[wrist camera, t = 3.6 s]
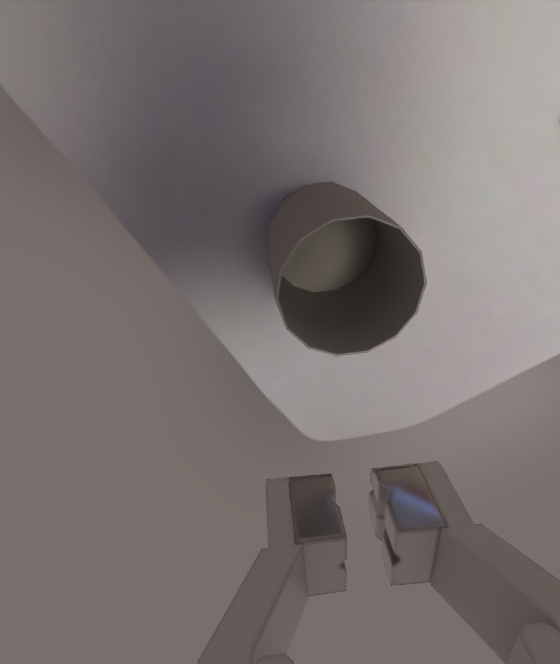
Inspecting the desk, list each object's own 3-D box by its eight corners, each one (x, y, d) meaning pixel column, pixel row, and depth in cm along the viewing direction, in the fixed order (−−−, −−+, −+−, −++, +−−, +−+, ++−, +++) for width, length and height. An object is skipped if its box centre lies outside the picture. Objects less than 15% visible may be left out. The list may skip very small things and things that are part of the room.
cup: (301, 307, 34) (320, 377, 25) (246, 224, 30) (246, 271, 22) (392, 254, 32) (447, 309, 24) (346, 159, 29) (391, 182, 20)
